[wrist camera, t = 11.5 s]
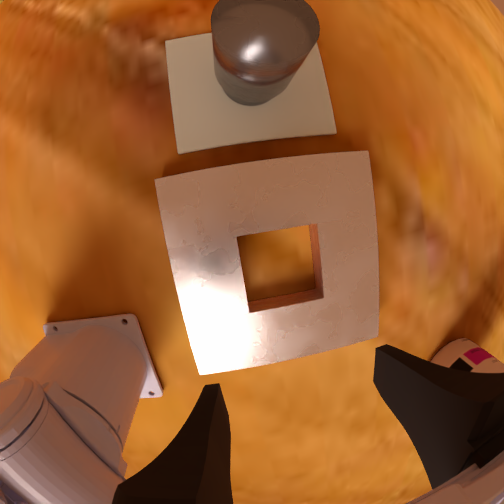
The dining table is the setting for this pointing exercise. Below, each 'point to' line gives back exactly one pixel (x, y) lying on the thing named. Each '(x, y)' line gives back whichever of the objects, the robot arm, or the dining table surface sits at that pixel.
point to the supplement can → (467, 357)
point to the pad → (236, 115)
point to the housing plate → (267, 219)
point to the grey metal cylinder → (260, 46)
